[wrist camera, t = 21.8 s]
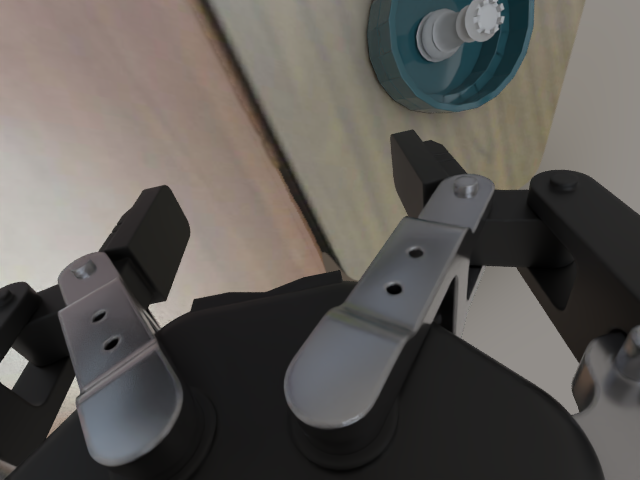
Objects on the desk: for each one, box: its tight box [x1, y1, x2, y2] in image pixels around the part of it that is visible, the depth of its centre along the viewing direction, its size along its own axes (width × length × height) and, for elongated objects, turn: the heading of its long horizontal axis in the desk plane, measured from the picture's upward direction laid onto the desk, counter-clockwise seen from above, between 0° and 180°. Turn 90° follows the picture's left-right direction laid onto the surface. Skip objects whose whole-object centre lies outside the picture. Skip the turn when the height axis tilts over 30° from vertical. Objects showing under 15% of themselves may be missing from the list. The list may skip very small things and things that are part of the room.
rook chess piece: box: [416, 0, 505, 62], centre depth 31 cm, size 4×4×8 cm
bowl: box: [367, 0, 534, 113], centre depth 33 cm, size 14×14×6 cm
